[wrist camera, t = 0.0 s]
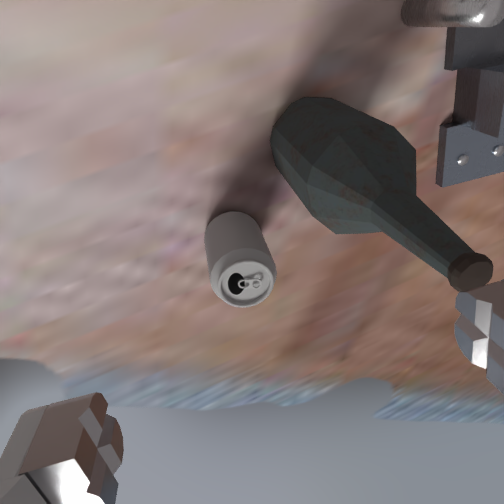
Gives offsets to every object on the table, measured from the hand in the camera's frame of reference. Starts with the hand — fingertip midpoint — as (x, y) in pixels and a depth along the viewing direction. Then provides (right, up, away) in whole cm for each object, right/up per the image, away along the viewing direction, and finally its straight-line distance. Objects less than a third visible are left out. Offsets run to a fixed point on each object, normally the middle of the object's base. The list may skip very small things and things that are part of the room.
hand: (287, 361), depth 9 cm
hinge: (+27, +23, +38) cm, 52 cm away
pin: (+17, +29, +32) cm, 46 cm away
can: (-4, +5, +42) cm, 43 cm away
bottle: (+6, +16, +38) cm, 42 cm away
